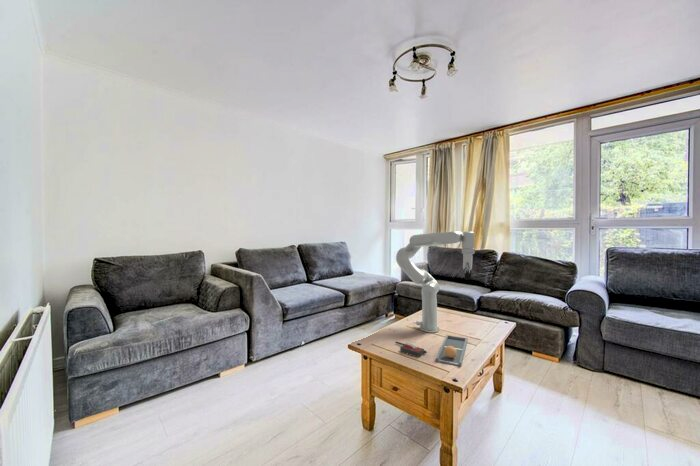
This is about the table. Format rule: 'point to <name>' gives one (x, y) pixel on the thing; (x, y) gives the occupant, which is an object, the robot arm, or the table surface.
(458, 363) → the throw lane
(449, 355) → the ball
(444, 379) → the table surface
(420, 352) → the walkie-talkie
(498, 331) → the table surface
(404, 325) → the table surface
